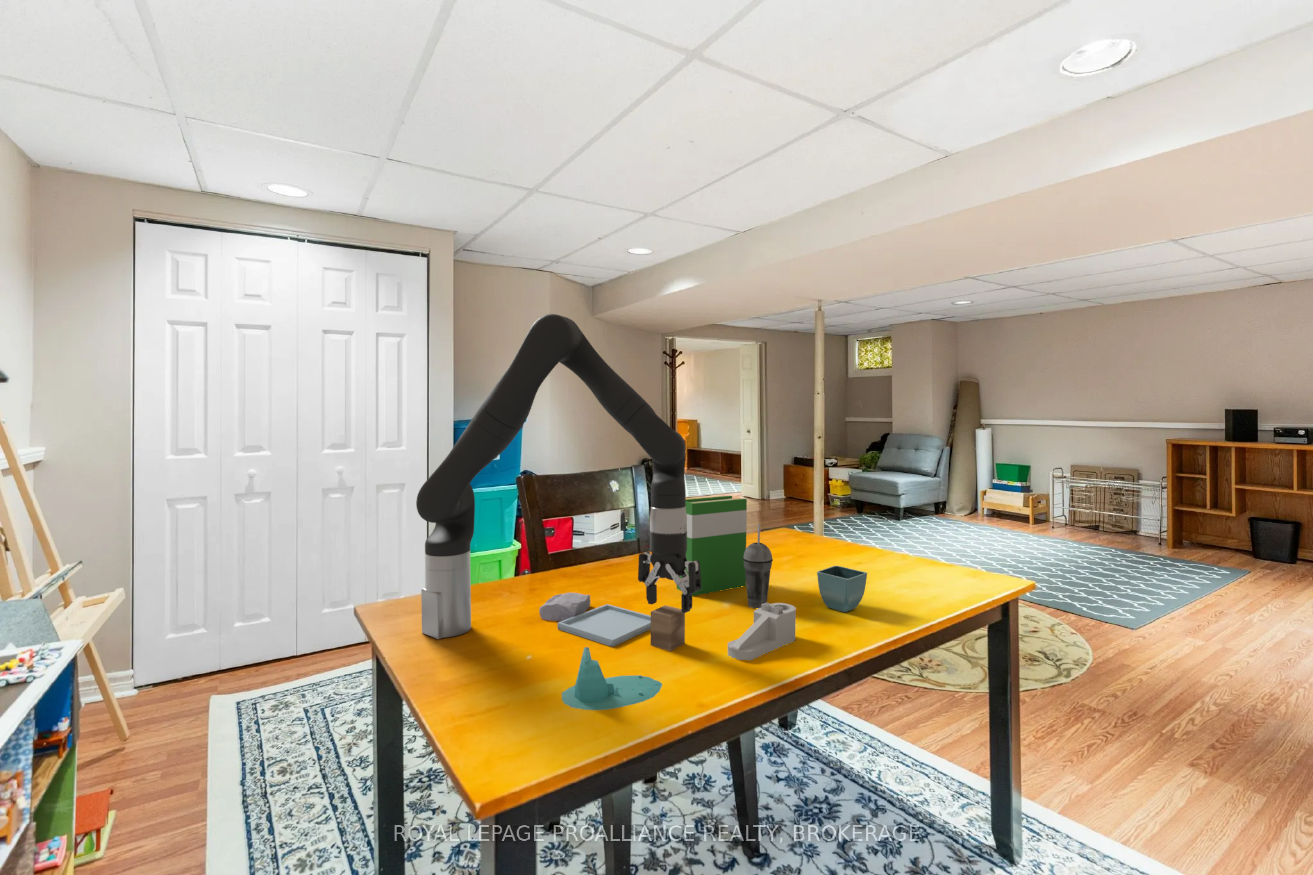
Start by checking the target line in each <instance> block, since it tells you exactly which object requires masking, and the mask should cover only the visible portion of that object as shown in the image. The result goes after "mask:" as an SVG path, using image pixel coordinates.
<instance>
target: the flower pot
mask: <svg viewBox="0 0 1313 875" xmlns="http://www.w3.org/2000/svg"><path fill="white" fill-rule="evenodd" d="M816 574H817V575H816V576H817V582H818V590H819V594H820V598H821V600H822V601H823V603H824V605H825V607H826V608H829V609H833V610H835V611H839V612H843V613H848V612H850V611H852V610H854V609H857V607H858V606H859V604H860V603H861V602H862V599H863V597H864V594H865V590H866V584H867V577H868V572H865V571H862V570H858V569H854V568H853V569H852V568H848V567H844V566H840V565H832V566H830V567H827V568H824V569H821V570H817V571H816Z"/></svg>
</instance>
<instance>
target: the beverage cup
mask: <svg viewBox="0 0 1313 875" xmlns="http://www.w3.org/2000/svg"><path fill="white" fill-rule="evenodd" d="M760 537H761V524H760V523H758V524H757V542H752V543H751V544H749V545H748V546H746V550H745V552H744V557H743V560H744V567H745V575H746V586H745V587H746V600H747V606H748V607H749V608H751V609H755V608H761V604H764V603H768V599H769V598H768V597H769V587H770V577H771V569H772V566H773V561H774V560H773V554H772V551H771V549H770V548H769V547H768V546H767V544H765V543H763V542H760V541H761V538H760Z"/></svg>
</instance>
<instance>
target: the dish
mask: <svg viewBox="0 0 1313 875" xmlns="http://www.w3.org/2000/svg"><path fill="white" fill-rule="evenodd" d="M557 630H559V631H563V632H566V633H569V634H571V635H574V636H577V637H581V638H584V639H587V640H590V641H592V642H593V641H594V642H596V643H600V644H603V645H606V646H608V647H611V648H613V647H616V646H618V645H620V644H621V643H624V642H626V641H628V640H630V639H632V638H635V637H636V636H638V635H641V634H643V633H645V632H647V631H651V615H649V614H645V613H641V612H637V611H634V610H631V609H626V608H622V607H619V606H615V605H611V604H608V603H606V604H604V605H601V606H600V605H599V606H598V607H596V608H593V609H590V610H588V611H587V610H586V611H585V612H584V613H582V614H579V615H577V616H574V617H571V618H569V619H566V620H563V621H557Z"/></svg>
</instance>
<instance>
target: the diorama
mask: <svg viewBox="0 0 1313 875" xmlns="http://www.w3.org/2000/svg"><path fill="white" fill-rule="evenodd" d="M601 668H602V667H601V666H600V663H599V661H598V660H596V659H592V656H591V650H590V647H588V646H586V647H584V648H583V651H582V655H581V660H580V664H579V669H578V672H577V677H576V681H575V685H572V686H571V687H569V688H567V689H565V690H564V691H563V692H561V700H562V702H563V704H564V705H567V706H568V707H570V708H573V709H578V710H579V709H580V710H586V711H605V710H606V711H607V710H613V709H618V708H623V707H627V706H632V705H636V704H639V703H643V702H645V701H647V700H650V699H652V698H654V697H656V695H657V694H658V692H659V693H660V691H661V689H662V687H663V684H662V682H660V681H659V680H655V679H654V678H652V677H649V676H643V675H641V674H640V675H617V676H610V677H605V676H604V674H603V671H602V669H601Z"/></svg>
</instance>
